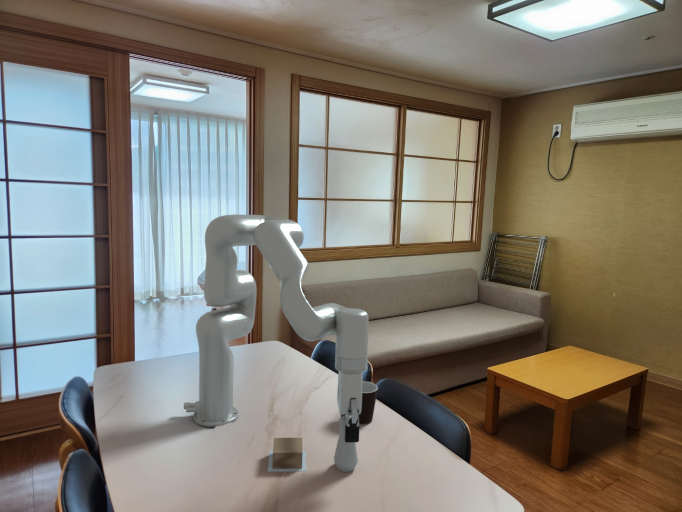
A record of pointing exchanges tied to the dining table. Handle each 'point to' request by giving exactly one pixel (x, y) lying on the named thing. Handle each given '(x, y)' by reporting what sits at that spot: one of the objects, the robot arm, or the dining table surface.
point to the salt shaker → (345, 450)
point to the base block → (287, 453)
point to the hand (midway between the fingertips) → (349, 431)
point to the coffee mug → (367, 402)
